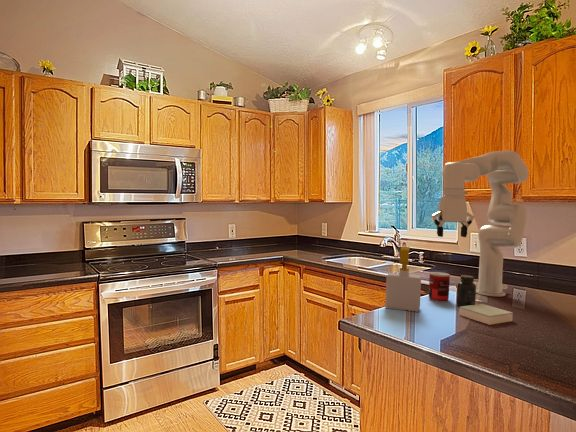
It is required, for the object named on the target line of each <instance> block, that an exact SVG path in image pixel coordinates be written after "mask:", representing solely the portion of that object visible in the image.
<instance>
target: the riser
mask: <svg viewBox="0 0 576 432" xmlns="http://www.w3.org/2000/svg"><path fill="white" fill-rule="evenodd" d="M513 314H514V313H513V312H512V311H509V310H505V309H501V308H498V307H495V306H491V305H487V304H485V303H479V304H478V303H477V304H475V305H469V306H461V307H460V306H459V314H458V315H459V316H462V317H464V318H468V319H471V320H473V321H477V322H480V323H483V324H486V325H495V324H502V323H508V322H513Z"/></svg>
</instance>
